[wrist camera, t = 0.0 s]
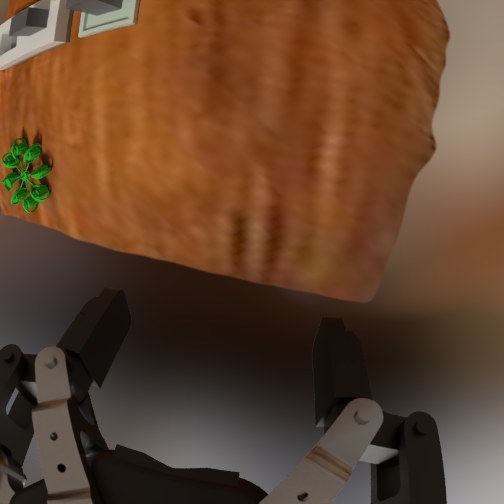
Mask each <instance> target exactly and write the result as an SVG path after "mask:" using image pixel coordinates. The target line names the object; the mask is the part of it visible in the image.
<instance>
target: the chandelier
mask: <svg viewBox="0 0 504 504" xmlns="http://www.w3.org/2000/svg"><path fill="white" fill-rule="evenodd" d="M19 139H20V140H23V141H24V142H23V143H20V144H17V145H16V146H14V144H15V142H16V141H17V140H19ZM37 145H39V147H38V146H37ZM13 147H14V148H13ZM27 149H28V146H27V144H26V140H25V139H23V138H18V139H16V140H15V141H14V142H13V144H12V148H11V152H12V153H6V154H5V155H4V156H3V158H4V157H5V156H7V155H9V156H8V157H7V158H5V161H4V160H3V158H2V163H3V165H4V166H6V167H8V168H15V167H16V168H17V169H18V170H19V171H20V172H21V176H19V174H18V175H17V173H16V172H13V173H11V174H9V175H7V176H6V177H5V179H4V180H3V181H2V184H5V187H6V189H7V190H8V191H10V190H11V189H12V188H13V183H15V182H16V181H18V180H19V179H21V178H22V180H23V181H25V183H26V187H27V191H28V186H27V182H26V181H27V180H28V181H29V182H30V183H31V184H32V185H33V183H32V182H31V181H30V180H29V175H31V178H33V177H34V178H36V179H41V178H43V177H45V176H46V175H48V173H49V171H51V167H48V166H47V165H42V166H40V167H38V168H36V169H35V170H34V173H32V174H29V173H28V171H27V169H28V166H29V163H31V162H33V161H34V160H35V159H36V158H37V157H39V156H40V153H41V151H40V149H41V145H40V144H39V143H36V144H33V145H32V146H31V147H30V148H29V149H28V150H27ZM23 153H25V155H24V157H23V158H22V159H23V161H24V162H25V159H27V160H30V161H28V162H25V163H26V164H28V165H27V168H26V170H24V167H23V162H22V159H18V155H21V154H23ZM20 160H21V163H22V168H23V172H22V171H21V170H20V169H19V168H18V167H17V166H18V165H19V163H20ZM18 161H19V163H18V164H16V163H17V162H18ZM14 164H16V165H14ZM12 165H13V166H12ZM23 181H22V184H23ZM22 184H21V187H20V188H19V189H17V190H16V192H15V193H14V194H13V195H12V198H11V203H12V204H13V205H16V204H18V203H19V202H20V201H21V200H22V199H23V207H24V209H25V211H26V212H29V213H31V212H34V211H35V210H36V209H37V206H38V201H40V202H43V201H46V200H47V199H48V198H49V196H50V191H49V190H48V188H47V186H46V185H43V184H35V185H33V186H32V187H31V190H30V191H28V192H25V191H26V188H25V187H22ZM36 186H39V187H38V188H36V189H35V190H34V191H32V188H34V187H36ZM29 192H30V194H31V196H29V197H27V198H26V200H25V197H26V195H27V194H28V193H29ZM32 192H33V194H32ZM47 193H48V197H47V198H45V199H41V198H42V197H44V196H45V195H47ZM13 201H14V202H15V203H13ZM34 205H36V207H35V209H34V210H33V211H31V212H30V211H28V210H27V209H26V208H31V207H33V206H34Z"/></svg>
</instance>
